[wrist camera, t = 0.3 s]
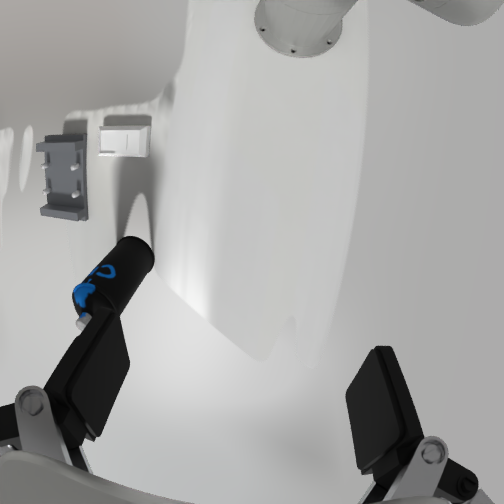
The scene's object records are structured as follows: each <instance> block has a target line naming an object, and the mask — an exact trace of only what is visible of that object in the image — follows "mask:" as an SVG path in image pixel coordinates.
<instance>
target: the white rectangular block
mask: <svg viewBox="0 0 504 504" xmlns="http://www.w3.org/2000/svg"><path fill="white" fill-rule="evenodd" d="M150 129H151V126H143V125H125V126H100V127H99V132H98V156H127V157H147V156H149V144H150Z"/></svg>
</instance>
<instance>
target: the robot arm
mask: <svg viewBox="0 0 504 504" xmlns="http://www.w3.org/2000/svg"><path fill="white" fill-rule="evenodd" d="M357 1H358V0H261V1H260V2H259V4H258V6H257V8H256V11H255V18H254V20H255V26H256V29H257V32H258V34H259V36H260V37H261V38H262V40H263V41H264V42H265V43H266V44H267V45H268V46H270V47H271V48H272V49H274V50H276V51H277V52H279V53H282V54H284V55H288V56H292V57H300V58H306V57H313V56H318V55H320V54H322V53H325V52H326V51H328V50H329V49H331V48H332V47H333V46H334V45H335V44H336V42H337V41H338V40H339V37H340V35H341V32H342V18H343V17H344V16H345V15H346V14H347V12H348V11H349V10H350V9H351V8H352V7H353V5H354V4H355V3H356V2H357ZM408 1H410V2H412V3H414V4H416V5H418V6H420V7H421V8H424V9H425V10H427V11H429V12H431V13H433V14H434V15H436V16H438V17H440V18H442V19H444V20H446V21H448V22H451V23H453V24H457V25H461V26H471V25H477V24H479V23H482V22H483V21H485V20H487V19H488V18H490V17H491V16H492V15H493V14H494V13H495V12H496V11H497V10H498V9H499V8H500V6H501V5H502V4H503V3H504V0H408ZM262 29H263V30H265V31H264V32H262V31H261V30H262ZM327 42H329V43H330V44H327ZM291 51H295V53H292V52H291ZM129 367H130V360H129V356H128V352H127V347H126V343H125V339H124V334H123V330H122V325H121V320H120V316H119V315H117V314H116V311H115V310H113V309H109V308H105V307H99V308H98V310H97V311H96V312H95V314H94V315H93V317H92V318H91V319H90V321H89V322H88V324H87V325H86V327H85V328H84V330H83V331H82V333H81V334H80V335H79V336H77V337H76V338H75V339H74V341H73V342H72V344H71V345H70V347H69V348H68V350H67V351H66V353H65V354H64V356H63V357H62V359H61V360H60V362H59V364H58V365H57V367H56V369H55V370H54V372H53V373H52V375H51V377H50V378H49V380H48V381H47V383H46V385H45V387H44V388H43V389H41V388H40V387H38V386H27V387H25V388H23V389H22V390H20V391H19V393H18V394H17V396H16V398H15V403H12V404H9V405H5V406H1V407H0V504H193V503H188V502H183V501H178V500H173V499H169V498H165V497H161V496H156V495H153V494H149V493H145V492H142V491H139V490H135V489H132V488H129V487H126V486H123V485H120V484H117V483H114V482H112V481H109V480H106V479H103V478H101V477H98V476H95V475H93V472H92V470H91V468H90V466H89V463H88V461H87V458H86V456H85V453H84V450H83V448H82V444H83V441H84V439H85V438H86V439H88V440H91V441H93V442H94V441H95V438H96V437H99V436H100V435H101V434H102V431H103V429H104V426H105V424H106V421H107V419H108V416H109V414H110V412H111V409H112V407H113V404H114V402H115V400H116V397H117V395H118V393H119V390H120V388H121V386H122V384H123V381H124V379H125V377H126V375H127V372H128V370H129ZM346 403H347V408H348V413H349V419H350V424H351V431H352V437H353V443H354V449H355V456H356V463H357V467H358V469H360V470H361V474H362V475H366V474H373V478H374V481H373V482H372V484H371V485H370V487H369V488H368V490H367V491H366V493H365V494H364V496H363V497H362V498H361V500H360V501H359V503H358V504H494V503H493V502H492V501H491V499H490V498H489V497H488V496H487V495H486V494H485V493H484V492H483V490H482V489H479V490H478V479H477V477H476V475H475V474H474V473H473V472H472V471H470V470H468V469H466V468H465V467H463V466H461V465H460V464H458V463H456V462H454V461H453V460H451V459H450V458H448V448H447V445H446V444H445V442H444V441H443V440H442V439H440V438H439V437H435V436H429V437H425V438H424V435H423V431H422V428H421V425H420V422H419V419H418V415H417V413H416V409H415V406H414V404H413V401H412V398H411V395H410V392H409V389H408V387H407V384H406V381H405V379H404V376H403V374H402V371H401V368H400V366H399V363H398V361H397V358H396V356H395V353H394V351H393V349H392V347H391V346H376V347H375V348H374V349H372V350H371V351H370V352H369V354H368V356H367V357H366V359H365V361H364V363H363V364H362V366H361V368H360V369H359V371H358V373H357V375H356V376H355V378H354V379H353V381H352V383H351V384H350V386H349V387H348V389H347V391H346Z"/></svg>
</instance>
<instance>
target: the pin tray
mask: <svg viewBox="0 0 504 504" xmlns="http://www.w3.org/2000/svg"><path fill="white" fill-rule="evenodd" d="M86 142H87V134H65V135H48V136H45V141H44V142H41V143H37V144H36V151H37V152H45V163H44V164H42V165H41V168H42V169H45V174H46V175H45V176H46V189H45V190H43V194H44V195H46V194H47V202H48V204H46V205H45V206H43V207H41V208H40V212H41V215H42V216H48V217H54V218H61V219H67V220H73V221H79V220H82V221H86V220H88V207H87V186H86Z"/></svg>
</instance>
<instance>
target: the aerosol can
mask: <svg viewBox="0 0 504 504" xmlns="http://www.w3.org/2000/svg"><path fill="white" fill-rule="evenodd" d="M153 266H154V255H153V252H152V250H151V248H150V247H149V245H148V244H147V243H146V242H145V241H143V240H142V239H140V238H138V237H135V236H126V237H123V238H122V239H120V240H119V241H118V243H117V245H116V246H115V247H114V248H113V249H112V250H111V251H110V252H109V253H108V255H107V256H106V257H105V258H104V259H103V260H102V261H101V262H100V263H99V264H98V265H97V266H96V267H95V268H94V269H93V271H92V272H91V273H90V274H89V275H88V276H87V277H86V278H85V279H84V281H83V282H82V283H81V284H79V285H77V286H76V287H75V288H74V290H73V293H72V299H73V303H74V306H75V310H76V312H77V314H78V315H79V318H78V319H77V321H76V326H77V327H78V329H80V330H81V331H83V330H84V328H85V327H86V325H87V324H88V322H89V321H90V319H91V318H92V317H93V315H94V314H95V312H96V311H97V310H98V308H99V307H105V308H109V309H113V310H115V311H116V314H117V315H119V316H120V315H121V313H122V312H123V310H124V308H125V307H126V305H127V304H128V302H129V300H130V299H131V297H132V296H133V294H134V293H135V291H136V290H137V288H138V287H139V285H140V284H141V282H142V281H143V279H144V278H145V276H146V275H147V273H149V272H150V271H151V269H152V268H153Z"/></svg>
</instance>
